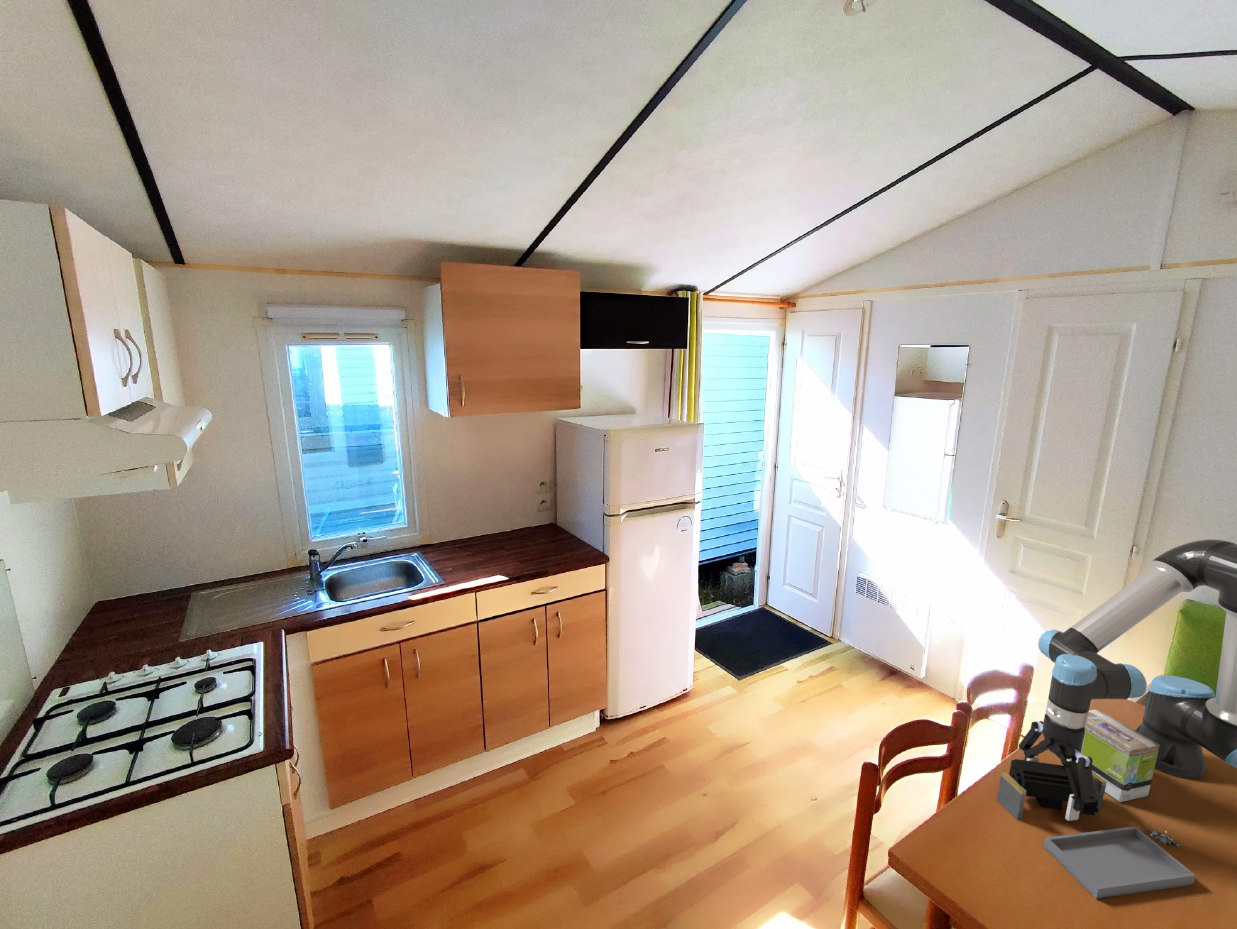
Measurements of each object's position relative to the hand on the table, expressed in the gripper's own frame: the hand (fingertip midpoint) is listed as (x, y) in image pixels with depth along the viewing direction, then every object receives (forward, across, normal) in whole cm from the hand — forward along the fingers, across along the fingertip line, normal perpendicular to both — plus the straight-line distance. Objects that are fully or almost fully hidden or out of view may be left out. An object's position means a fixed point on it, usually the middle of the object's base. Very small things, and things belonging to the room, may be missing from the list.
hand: (1049, 799), depth 137 cm
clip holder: (+2, 0, 0) cm, 2 cm away
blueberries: (+2, +12, +18) cm, 22 cm away
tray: (+2, +16, 0) cm, 17 cm away
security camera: (+2, 0, +1) cm, 2 cm away
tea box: (+2, -6, +22) cm, 23 cm away
